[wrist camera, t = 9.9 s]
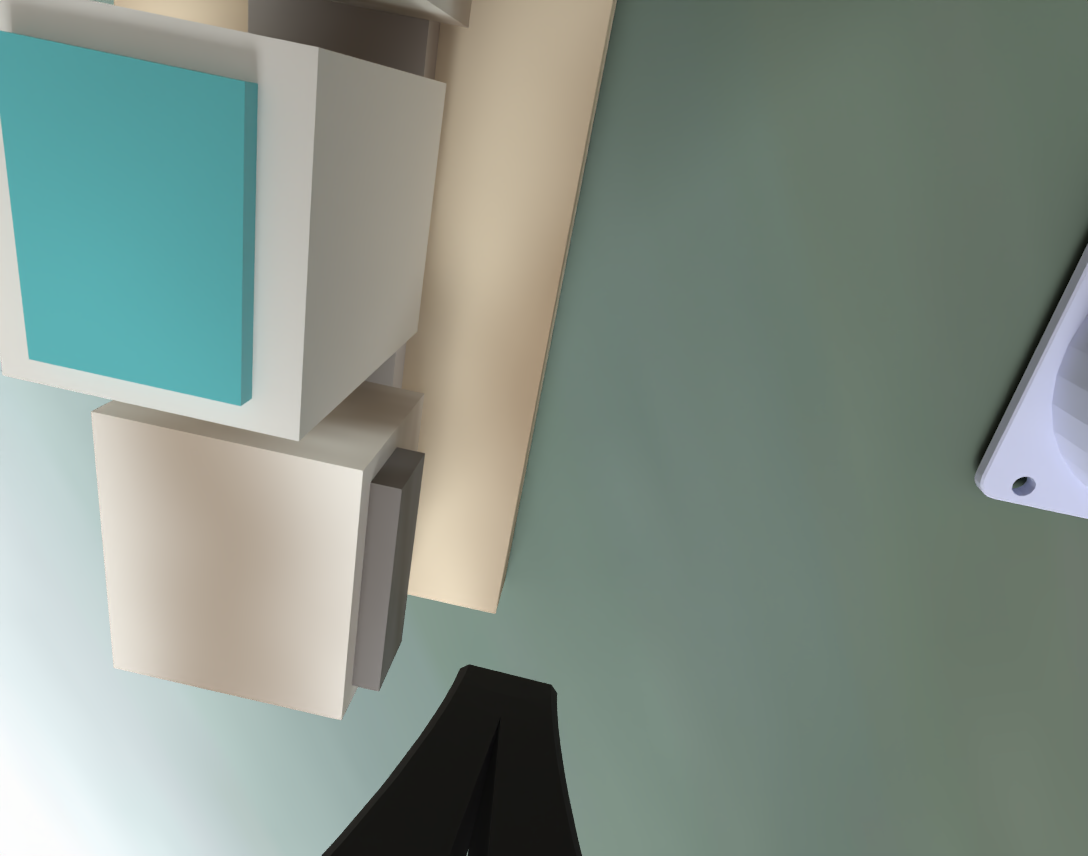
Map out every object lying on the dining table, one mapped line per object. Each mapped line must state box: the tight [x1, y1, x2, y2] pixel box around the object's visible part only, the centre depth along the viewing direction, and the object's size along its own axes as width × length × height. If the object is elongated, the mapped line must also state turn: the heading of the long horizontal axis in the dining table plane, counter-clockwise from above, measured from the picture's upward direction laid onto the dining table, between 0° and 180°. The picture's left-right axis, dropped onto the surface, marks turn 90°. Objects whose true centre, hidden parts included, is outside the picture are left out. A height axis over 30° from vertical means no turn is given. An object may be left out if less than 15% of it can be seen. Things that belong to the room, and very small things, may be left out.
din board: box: [91, 0, 617, 720], centre depth 14 cm, size 10×20×6 cm, turn 170°
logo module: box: [0, 0, 447, 441], centre depth 12 cm, size 4×5×6 cm
